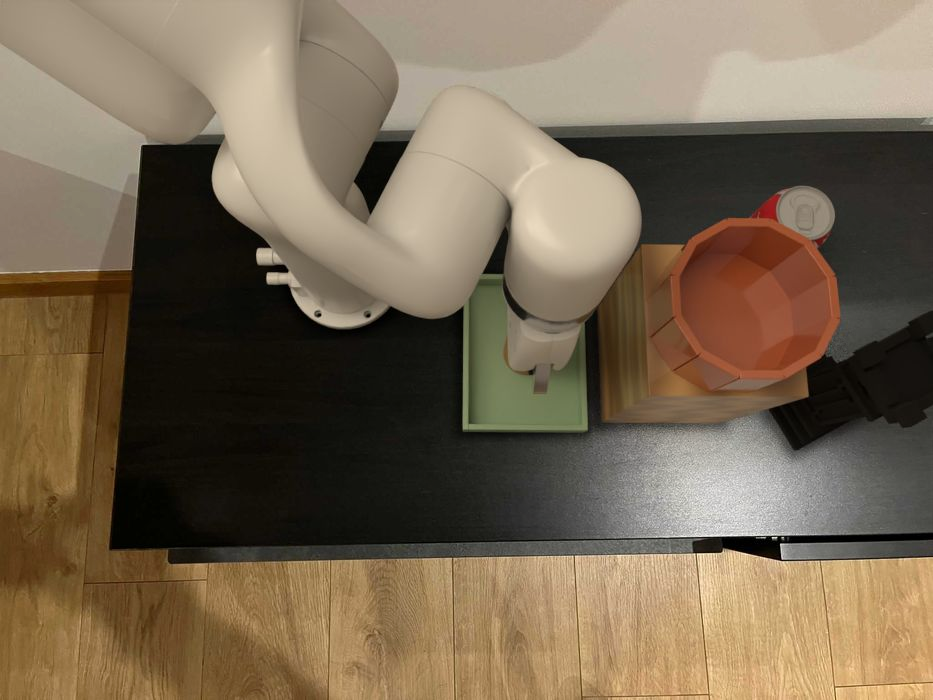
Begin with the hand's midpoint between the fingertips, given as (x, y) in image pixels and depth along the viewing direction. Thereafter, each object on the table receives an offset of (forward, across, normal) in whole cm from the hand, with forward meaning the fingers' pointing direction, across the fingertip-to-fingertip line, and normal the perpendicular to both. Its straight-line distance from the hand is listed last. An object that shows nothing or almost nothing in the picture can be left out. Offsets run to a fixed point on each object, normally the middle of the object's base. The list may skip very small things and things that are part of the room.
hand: (531, 336), depth 68 cm
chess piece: (+10, +5, +31) cm, 33 cm away
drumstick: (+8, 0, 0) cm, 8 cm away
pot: (-11, +1, +15) cm, 18 cm away
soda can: (+10, -12, +27) cm, 31 cm away
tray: (+9, 0, 0) cm, 9 cm away
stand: (+9, +1, +15) cm, 17 cm away
